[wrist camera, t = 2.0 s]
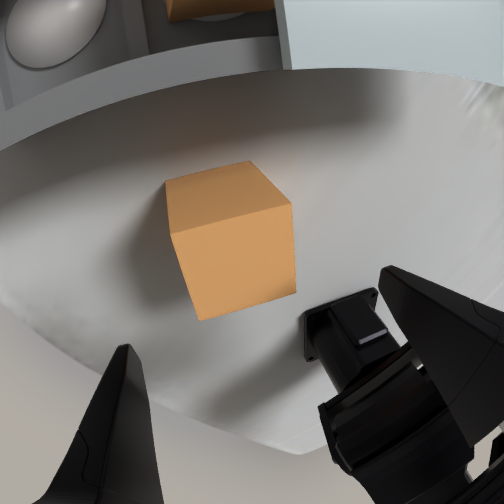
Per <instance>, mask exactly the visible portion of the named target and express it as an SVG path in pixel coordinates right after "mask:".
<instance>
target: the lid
mask: <svg viewBox="0 0 504 504" xmlns="http://www.w3.org/2000/svg"><path fill="white" fill-rule="evenodd" d="M274 3H275V10H276V17H277V24H278V31H279V39H280V46H281V54H282V63H283V70H296V69H314V68H377V69H395V70H407V71H418V72H427V73H435V74H442V75H449V76H455V77H461V78H466V79H471V80H476V81H481V82H486V83H490V84H495V85H499V86H503V87H504V0H274Z"/></svg>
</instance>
